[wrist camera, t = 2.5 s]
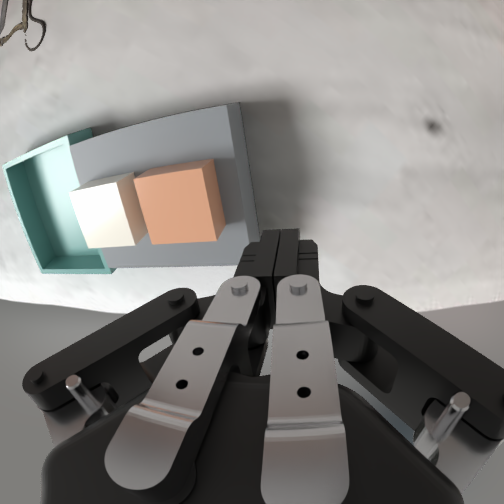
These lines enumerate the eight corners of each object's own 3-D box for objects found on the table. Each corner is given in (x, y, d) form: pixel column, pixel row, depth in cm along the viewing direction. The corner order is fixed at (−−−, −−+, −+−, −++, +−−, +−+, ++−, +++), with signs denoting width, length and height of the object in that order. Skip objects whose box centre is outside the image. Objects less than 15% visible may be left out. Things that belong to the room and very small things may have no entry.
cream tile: (133, 171, 21) (116, 182, 19) (149, 230, 24) (135, 245, 22) (87, 182, 22) (68, 192, 20) (104, 234, 25) (88, 248, 23)
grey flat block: (239, 102, 21) (226, 105, 18) (260, 240, 27) (252, 264, 24) (95, 136, 24) (69, 146, 21) (128, 247, 30) (108, 267, 27)
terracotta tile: (213, 158, 20) (201, 168, 18) (225, 225, 22) (216, 241, 20) (150, 168, 21) (133, 179, 19) (165, 229, 23) (152, 244, 21)
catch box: (90, 127, 24) (67, 135, 21) (128, 255, 31) (111, 273, 28) (22, 155, 26) (2, 165, 24) (58, 258, 33) (41, 273, 30)
